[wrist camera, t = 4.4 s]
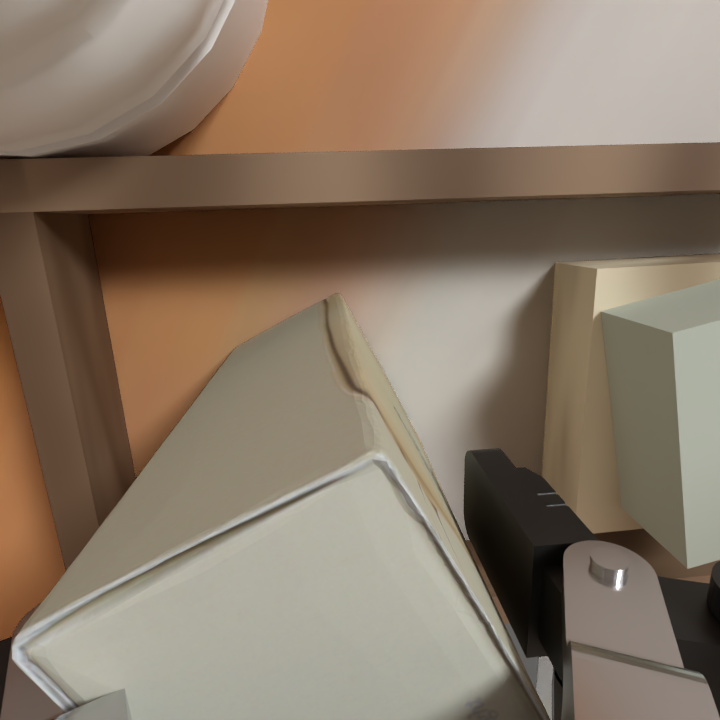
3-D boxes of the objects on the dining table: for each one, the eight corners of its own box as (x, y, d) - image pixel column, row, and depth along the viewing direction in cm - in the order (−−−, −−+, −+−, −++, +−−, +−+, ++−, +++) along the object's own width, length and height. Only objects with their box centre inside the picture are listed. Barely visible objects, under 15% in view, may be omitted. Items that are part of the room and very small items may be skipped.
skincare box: (418, 434, 18) (626, 836, 6) (312, 491, 18) (315, 985, 6) (335, 283, 16) (403, 437, 4) (219, 347, 16) (-19, 663, 4)
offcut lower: (735, 251, 17) (819, 256, 15) (699, 474, 20) (764, 516, 17) (549, 261, 17) (597, 268, 14) (535, 489, 19) (574, 535, 16)
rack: (789, 153, 16) (891, 138, 13) (713, 543, 20) (779, 595, 17) (38, 173, 14) (-32, 160, 11) (124, 598, 18) (89, 667, 16)
